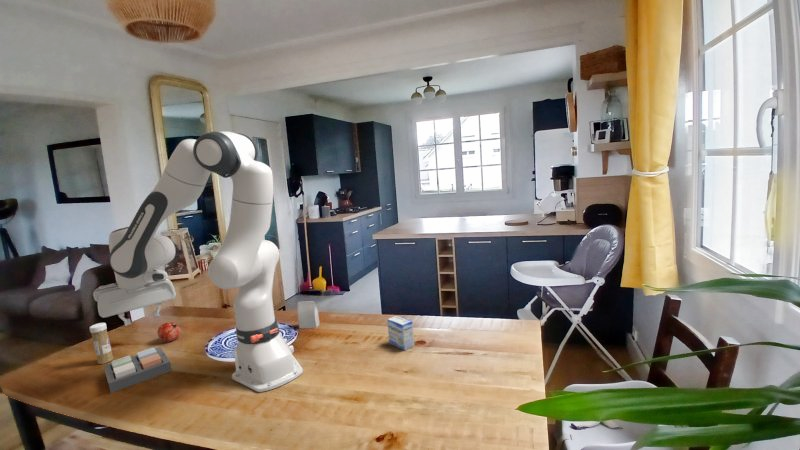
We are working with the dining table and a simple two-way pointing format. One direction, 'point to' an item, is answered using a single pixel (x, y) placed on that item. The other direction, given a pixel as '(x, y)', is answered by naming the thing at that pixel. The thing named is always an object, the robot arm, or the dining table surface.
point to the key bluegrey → (146, 353)
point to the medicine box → (400, 332)
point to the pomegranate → (168, 332)
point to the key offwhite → (124, 370)
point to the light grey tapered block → (308, 315)
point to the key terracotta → (150, 361)
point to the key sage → (121, 361)
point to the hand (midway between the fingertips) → (142, 321)
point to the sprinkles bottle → (101, 343)
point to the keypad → (137, 372)
